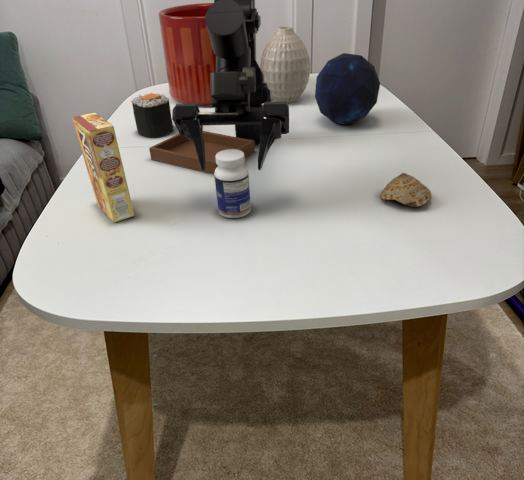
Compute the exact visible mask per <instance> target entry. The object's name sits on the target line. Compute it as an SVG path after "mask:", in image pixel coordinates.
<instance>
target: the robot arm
mask: <svg viewBox="0 0 524 480" xmlns="http://www.w3.org/2000/svg"><path fill="white" fill-rule="evenodd" d="M212 3H213V4H212V5H211V6H210V7H209V9H208V10H207V13H206V14H205V21H206V26H207V30H208V34H209V37H210V41H211V45H212V49H213V51H214V54H215V55H216V72H213V73H210V89H211V97H212V106H211V107H212V108H214V111H210V112H209V111H205V112H201V110H200V108H199V106H198V105H197V104H183V103H175V105H174V106H173V108H172V111H171V118H172V123H173V125H174V126H175V128H176V131H177V133H178V134H179V135H182V136H186V138H187V140H192V141H193V142H194V145H195V148H196V151H197V155H198V158H199V162H200V165H201V169H202V171H205V165H206V161H205V142H204V136H203V133H202V132H203V131H204V126H234V131H235V137H238V138H243V139H248V140H254V141H255V148H256V147H258V153H257V171H262V168H263V166H264V163H265V160H266V158H267V156H268V153H269V152H270V150H271V148H272V146H273V145H274V143H275V141H276V140H281V138H282V135H287V134H290V105H289V103H286V102H274V101H272V98H271V94H270V90H269V89H268V86H267V83H264V75H263V73H262V71H261V69H260V66H259V63H258V61H257V36H256V35H257V34H258V32H259V31H260V27H261V25H262V23H261V16H260V14H259V11H258V8H256V0H213V2H212ZM202 171H201V172H202Z"/></svg>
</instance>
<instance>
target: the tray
mask: <svg viewBox="0 0 524 480" xmlns="http://www.w3.org/2000/svg"><path fill="white" fill-rule="evenodd" d="M202 133H203V136H204V142H205V161H206V165H205V171H202V169H201V165H200V162H199V158H198V155H197V151H196V148H195V145H194V142H193V141H192V140H187V138H186V136H182V135H179V133H177V134H175V135H173V136H171V137H169V138H166V139H164V140H162V141H161V142H159V143H156V144H155V145H152V146H150V147H148V150H149V155H150V160H151V161H155V162H158V163H159V162H160V163H163V164H168V165H173V166H176V167H177V166H178V167H180V168H185V169H188V170H193V171H198V172H202V173H207V174H210V175H214V172H215V169H216V168H217V167H218V165H217V164H216V154H217V153H218V152H220V151H223V150H228V149H237V150H241V151H243V152H244V156H245V159H247V158H249V157H251V156H252V155H254V154H255V153H256V147H255V141H254V140H248V139H243V138H238V137H236V136H232V135H226V134H223V133H217V132H212V131H206V130H203V132H202Z"/></svg>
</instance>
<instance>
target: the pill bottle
mask: <svg viewBox="0 0 524 480" xmlns="http://www.w3.org/2000/svg"><path fill="white" fill-rule="evenodd" d="M245 162H246V158H245V156H244V152H243V151H241V150H237V149H228V150H223V151H220V152H218V153H217V154H216V164H217V165H218V167H217V168H216V169H215V172H214V174H213V175H214V185H215V192H216V202H217V212H218V213H219V215H220V216H222V217H224V218H227V219H239V218H243V217H245V216H247V215H249V213H250V212H251V210H252V203H251V191H250V190H251V188H250V178H249V177H250V173H249V172H250V171H249V168H248V167H247V166H246V165H245Z"/></svg>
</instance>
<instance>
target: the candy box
mask: <svg viewBox="0 0 524 480" xmlns="http://www.w3.org/2000/svg"><path fill="white" fill-rule="evenodd" d="M72 122H73V125H74V130H75V133H76V136H77V139H78V143H79V146H80V149H81V153H82V156H83V160H84V163H85V167H86V170H87V173H88V177H89V180H90V184H91V187H92V191H93V193H94V198H95V201H96V204H97V206H98V207H99V209H100V210H101V211H103V213H104V214H105V215H106V216H107V217H108V218H109V219H110V220H111V222H113V223H117V222H121V221H123V220H126V219H129V218H133V217H135V211H134V207H133V202H132V198H131V194H130V189H129V186H128V181H127V177H126V173H125V169H124V168H125V167H124V165H123V161H122V157H121V151H120V148H119V144H118V140H117V134H116V131H115V126H114V125H113V124H112V123H110V122H109V121H107V120H106V119H105V118H104V117H102V116H101V115H99V114H97V113H96V112H91V113H87V114H82V115H78V116H73V117H72Z"/></svg>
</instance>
